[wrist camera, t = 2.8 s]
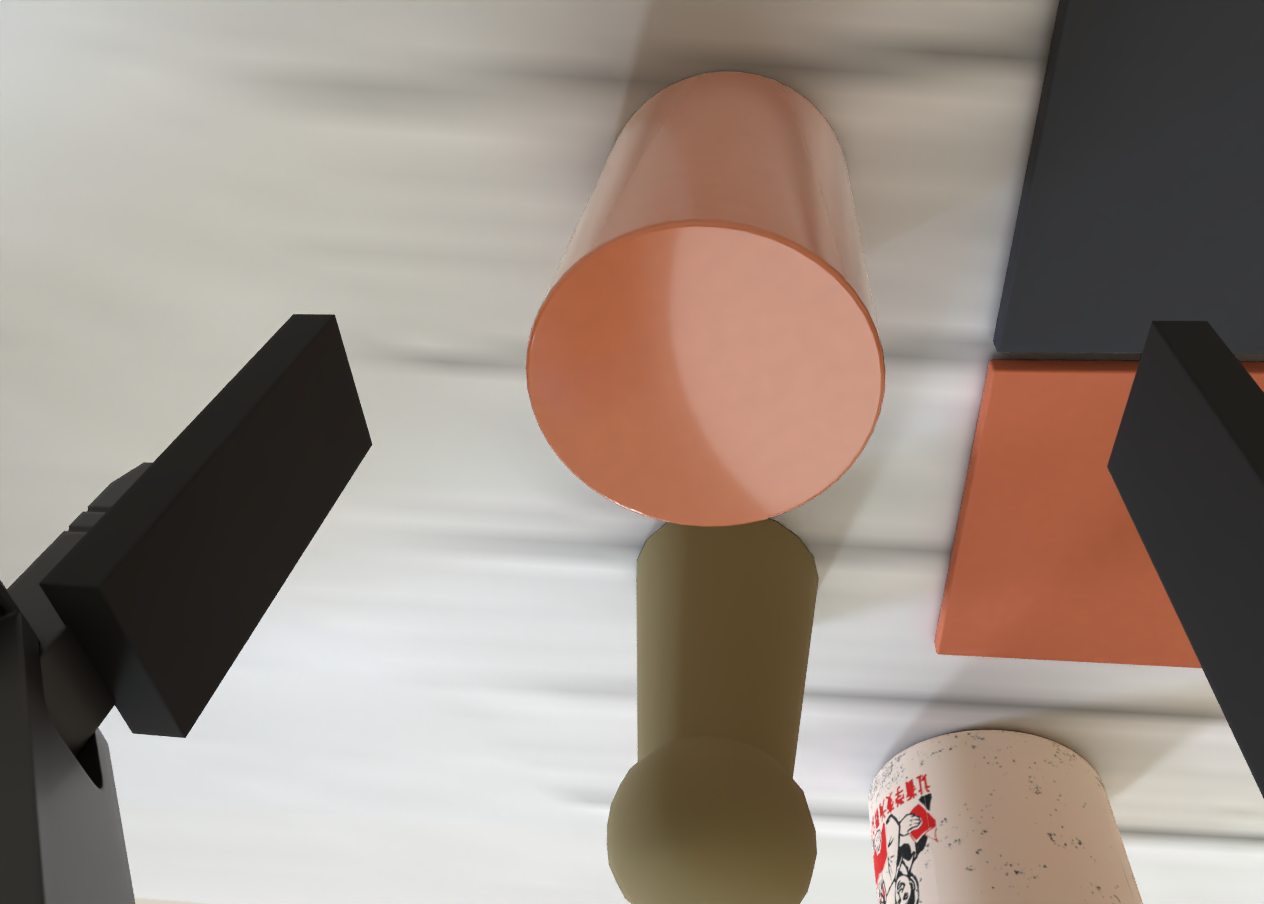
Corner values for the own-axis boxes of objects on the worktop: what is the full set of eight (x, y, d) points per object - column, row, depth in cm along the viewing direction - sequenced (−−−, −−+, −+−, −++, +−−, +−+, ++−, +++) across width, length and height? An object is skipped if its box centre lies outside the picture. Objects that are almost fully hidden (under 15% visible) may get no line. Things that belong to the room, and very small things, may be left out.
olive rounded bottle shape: (780, 487, 27) (784, 818, 18) (842, 620, 30) (871, 959, 21) (605, 536, 29) (533, 854, 21) (679, 655, 32) (644, 978, 23)
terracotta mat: (933, 641, 30) (936, 654, 30) (989, 358, 24) (993, 370, 23) (1393, 664, 28) (1403, 679, 28) (1588, 363, 22) (1606, 375, 21)
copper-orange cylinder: (614, 307, 24) (547, 522, 17) (594, 75, 21) (499, 223, 14) (839, 307, 23) (868, 534, 16) (858, 65, 20) (906, 217, 13)
